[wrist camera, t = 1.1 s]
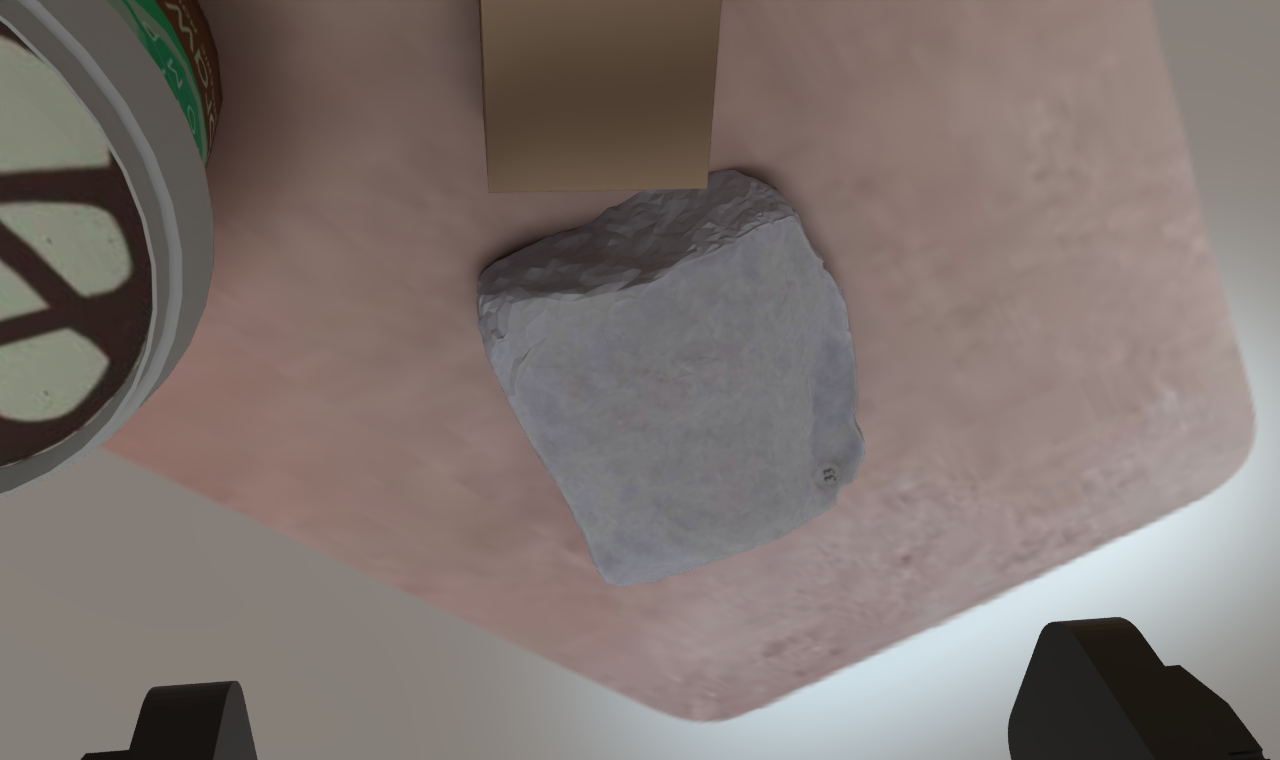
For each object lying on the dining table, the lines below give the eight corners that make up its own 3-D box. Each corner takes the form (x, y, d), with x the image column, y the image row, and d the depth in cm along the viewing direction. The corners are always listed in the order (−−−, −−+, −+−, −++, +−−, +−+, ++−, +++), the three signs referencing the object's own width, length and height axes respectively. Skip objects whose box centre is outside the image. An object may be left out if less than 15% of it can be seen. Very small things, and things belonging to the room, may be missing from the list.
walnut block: (475, -86, 26) (479, -43, 21) (681, -82, 26) (724, -40, 22) (483, 119, 28) (488, 192, 24) (670, 117, 29) (707, 188, 25)
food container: (341, 237, 29) (297, 454, 21) (120, 289, 29) (-13, 527, 21) (144, -284, 22) (-38, -270, 14) (-146, -220, 22) (-502, -167, 14)
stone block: (743, 113, 31) (435, 271, 30) (822, 166, 27) (471, 349, 26) (837, 410, 38) (588, 546, 37) (910, 486, 34) (634, 640, 33)
